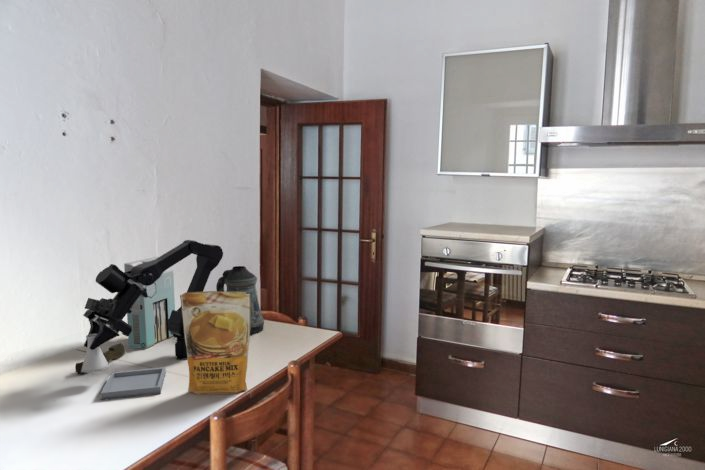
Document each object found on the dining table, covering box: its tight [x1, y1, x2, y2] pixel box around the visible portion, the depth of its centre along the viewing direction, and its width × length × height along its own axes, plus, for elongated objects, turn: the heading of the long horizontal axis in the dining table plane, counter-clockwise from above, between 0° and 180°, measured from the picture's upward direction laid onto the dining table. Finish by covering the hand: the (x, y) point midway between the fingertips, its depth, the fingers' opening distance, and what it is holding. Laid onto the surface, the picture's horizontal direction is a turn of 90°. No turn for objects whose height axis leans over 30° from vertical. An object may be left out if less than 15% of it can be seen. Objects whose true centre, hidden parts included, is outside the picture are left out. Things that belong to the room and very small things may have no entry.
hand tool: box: [74, 343, 126, 376], centre depth 162 cm, size 19×4×5 cm, turn 161°
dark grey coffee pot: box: [215, 265, 265, 336], centre depth 196 cm, size 16×19×25 cm
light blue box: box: [123, 256, 176, 350], centre depth 183 cm, size 16×8×30 cm, turn 162°
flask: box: [81, 333, 109, 374], centre depth 144 cm, size 7×7×10 cm
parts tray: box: [100, 366, 167, 401], centre depth 144 cm, size 15×15×2 cm
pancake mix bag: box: [179, 290, 251, 395], centre depth 140 cm, size 7×19×28 cm, turn 92°
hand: (88, 347), depth 143 cm, fingers closed on flask, 3 cm apart
